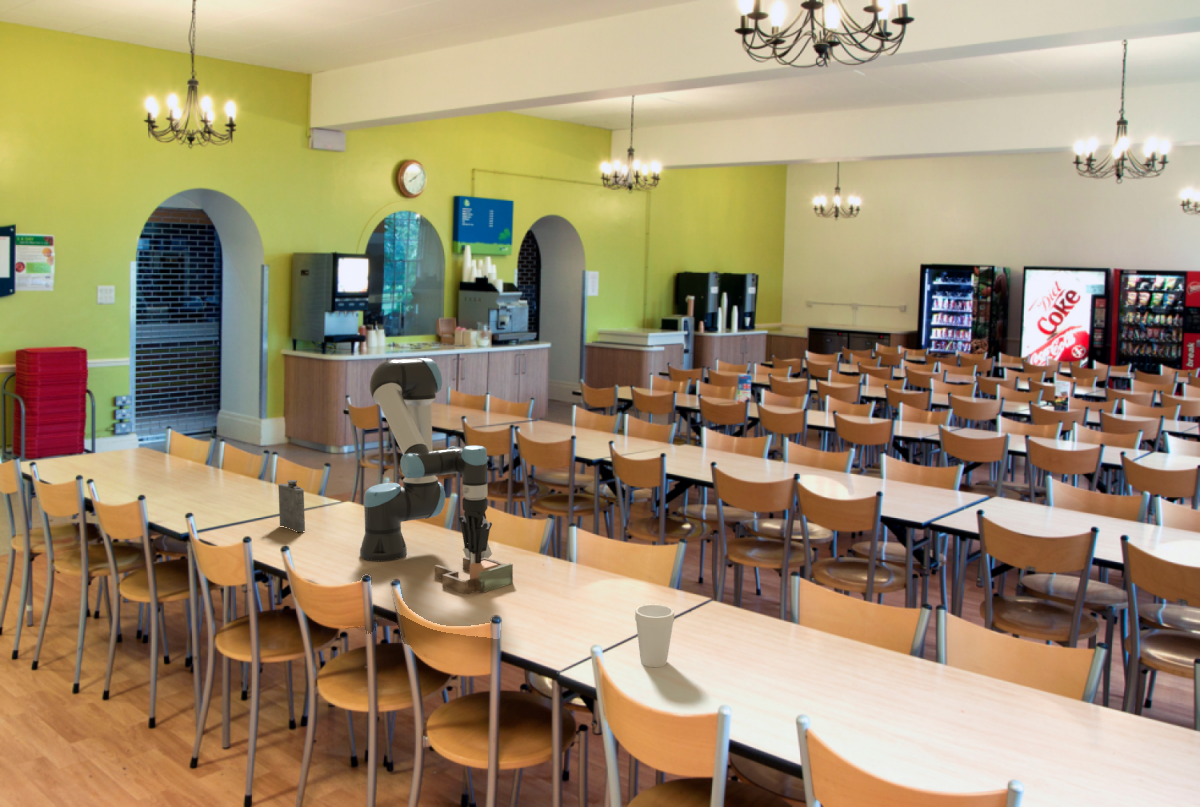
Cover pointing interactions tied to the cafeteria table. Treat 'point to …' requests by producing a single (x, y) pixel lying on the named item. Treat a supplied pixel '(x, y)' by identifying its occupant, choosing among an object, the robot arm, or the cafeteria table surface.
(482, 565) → the block
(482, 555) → the die
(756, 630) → the cafeteria table surface
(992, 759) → the cafeteria table surface
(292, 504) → the flask
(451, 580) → the trap lane
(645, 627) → the foam cup
